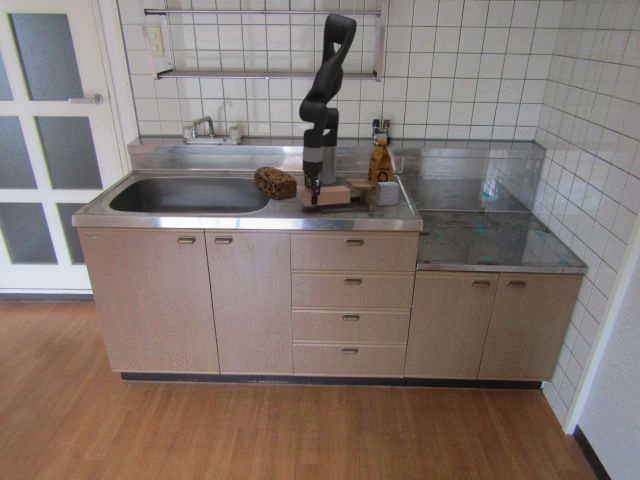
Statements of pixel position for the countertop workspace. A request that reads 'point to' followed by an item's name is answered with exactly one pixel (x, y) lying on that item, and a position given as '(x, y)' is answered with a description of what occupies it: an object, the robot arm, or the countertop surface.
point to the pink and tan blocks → (354, 198)
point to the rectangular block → (327, 195)
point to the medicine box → (387, 193)
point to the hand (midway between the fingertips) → (311, 201)
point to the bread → (275, 183)
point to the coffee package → (380, 164)
